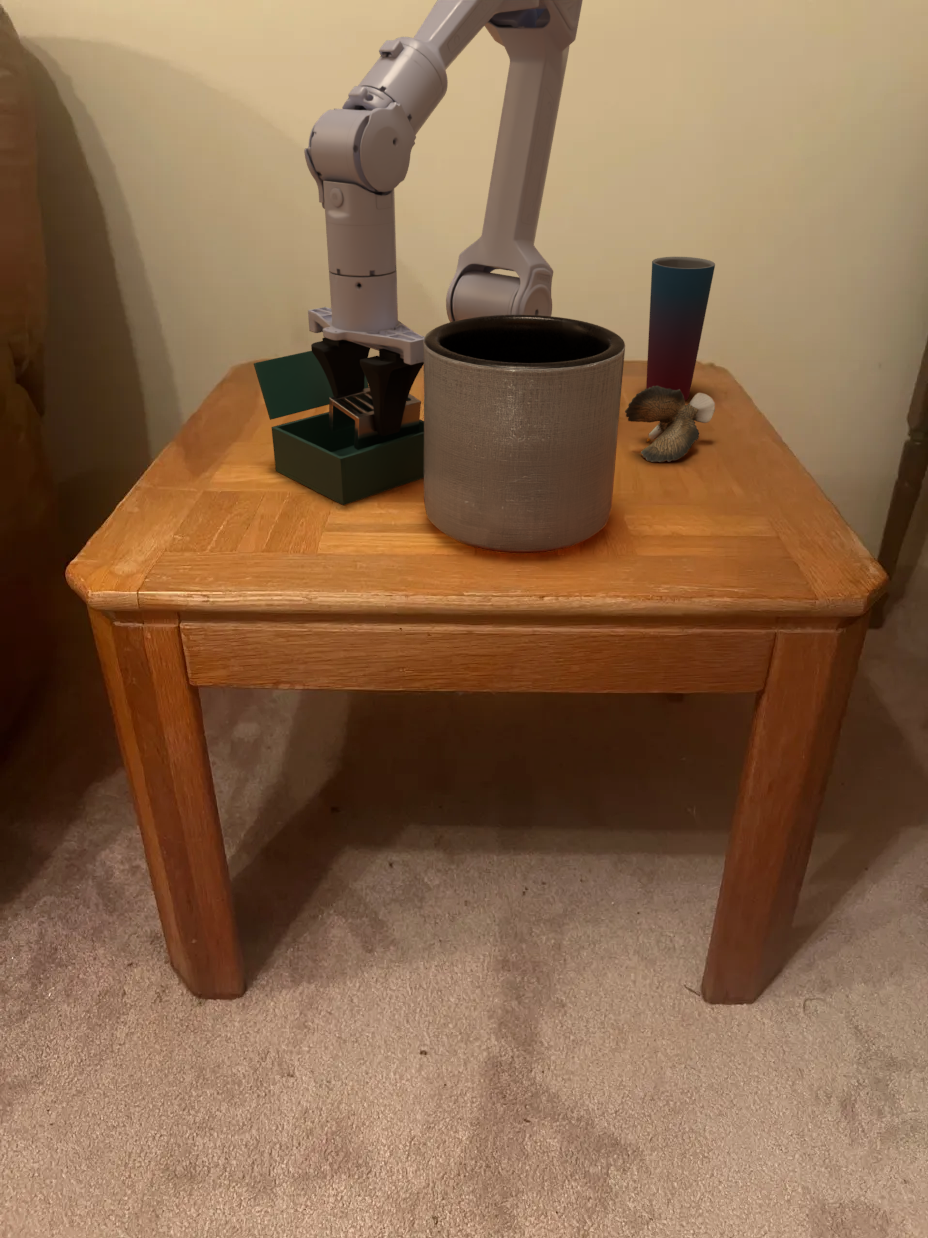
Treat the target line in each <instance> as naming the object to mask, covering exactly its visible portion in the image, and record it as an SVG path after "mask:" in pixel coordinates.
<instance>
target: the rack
mask: <svg viewBox="0 0 928 1238" xmlns="http://www.w3.org/2000/svg"><path fill="white" fill-rule="evenodd" d="M421 407H422V401H421V400H420V399H418V398H417V397H416V396H414V395H413V394H410V393H409V395H408V398H407V402H406V405H405V409H404V414H403V418H402V423H401V427H400V431H399V432H396V433H393V434H390V435H386V436H381V435H378V432H377V429H376V425H375V418H374V409H373V401H372V396H371V391H370V388H366V389H362V390H358V391H354V392H350V393H346V394H342V395H338V396H334V397H330V398H329V405H328V412H329V430H330V431H332V432H334V431H338V430H341V429H345V428H348V427H352V426H355V435H354V448H355V449H357V450H361V449H364V448H367V447H371V446H374V445H377V444H381V443H384V442H387V441H391V440H394V439H397V438H401V437H404V436H408V435H411V434H414V433H418V432H419V421H420V420H421V409H422V408H421Z"/></svg>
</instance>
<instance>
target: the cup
mask: <svg viewBox="0 0 928 1238" xmlns="http://www.w3.org/2000/svg"><path fill="white" fill-rule="evenodd" d="M715 268H716V263H715V262H714V261H712V260H710V259H707V258H701V257H691V256H663V257H657V258H654V259H652V261H651V274H650V275H651V278H650V280H651V281H650V298H649V299H650V301H649V320H648V321H649V322H648V340H647V342H648V343H647V362H646V363H647V365H646V382H645V383H646V384H645V389H649V387H651V388H652V386H660V387H662V388H663V387H664V388H665V389H669V388H670V389H672V390H679V389H680V390H681V392H682V394H683V396H684V399H685V401H687V400H688V399H689V398H690V394H691V390H692V389H691V388H692V383H693V380H694V379H693V378H694V373H695V368H696V364H697V358H698V353H699V349H700V343H701V338H702V333H703V328H704V323H705V318H706V313H707V308H708V304H709V298H710V293H711V288H712V283H713V278H714V273H715Z"/></svg>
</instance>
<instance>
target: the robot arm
mask: <svg viewBox="0 0 928 1238" xmlns="http://www.w3.org/2000/svg"><path fill="white" fill-rule="evenodd" d="M582 5H583V0H436V2H435V3H434V4H433V6H432V7H431V9H430V11H429V12H428V14H427V15H426V17H425V19H424V20H423V22H422V23H421V25H420V27H419V28H418V30H417V31H416V32H415V35H414V36H413V37H412V36H400V37H397V38H395V39H386V40H385V41H384V42H383V43H382V45H381V46H380V47H379V49H378V53H379V55H380V56H379V57H378V58H377V60H376V61H375V63H373V65H372V66H371V68H370V69H369V71H368V72H367V73H366V74H365V75H364V77H363V78H362V79H361V81H360V82H359V84H358V85H354V86H353V87H352V88H351V90H350V91H349V92H348V96H347V99H346V100H345V102H344V103H343V105H342V107H341V108H333V109H328V110H326V111H325V112H323V113H322V114H321V115H320V116H319V118H317V121H316V122H315V123H314V124H313V126H312V128H311V131H310V133H309V137H308V147H307V148H304V151H303V153H304V158H305V163H306V167H307V168H308V171H309V173H310V175H311V176H312V178H313V179H314V181H315V183H316V186H317V190H318V191H317V192H318V202H319V203H321V207H322V209H324V216H325V219H324V220H325V229H326V230H325V232H326V233H325V234H326V247H327V263H328V264H327V265H328V279H329V280H328V281H329V293H330V294H329V296H330V307H326V306H322V307H317V308H312V309H308V310H307V317H308V318H307V319H308V330H309V332H311V333H314V334H320V333H322V336H323V337H322V339H321V340H320V341H316V342H313V343H311V345H310V346H311V351H312V352H313V354H314V355H315V357H316V358H317V360H318V361H319V363H320V365H321V367H322V368H323V370H324V372H325V374H326V377H327V379H328V381H329V384H330V387H331V389H332V392H333V396H338V395H342V394H346V393H350V392H354V391H358V390H362V389H364V379H365V376H366V379H367V381H368V385H369V388H370V391H371V396H372V401H373V409H374V418H375V425H376V429H377V432H378V435H381V436H386V435H390V434H393V433H396V432H399V431H400V427H401V423H402V418H403V414H404V409H405V405H406V402H407V398H408V395H409V394H410V392H411V389H412V387H413V384H414V383H415V380H416V378H417V376H418V375H419V373H420V371H421V369H422V368H423V367H424V346H423V341H424V338H425V336H424V335H421V334H420V333H418V332H416V331H414V330H413V329H411V328H410V327H409V326H407V325H406V324H404V323H402V322H401V321H400V320H399V311H398V309H399V308H398V307H399V306H398V304H399V303H398V272H397V271H398V270H397V238H396V234H397V233H396V200H395V198H396V197H395V196H396V195H395V189H396V188H397V187H398V186H399V185H400V184H401V183H402V182H403V181H405V179H406V177H407V175H408V171H409V167H410V163H411V153H412V149H413V148H414V146H415V145H416V142H415V140H417V134H418V133H419V131H420V130H421V128H422V127H423V126H424V124H425V123H426V122H427V120H429V118H430V116H431V115H432V114H433V112H434V111H435V110H436V108H437V107H438V105H439V104H440V103H441V102H442V101H443V99H444V98H445V96H446V95H447V91H448V83H449V82H448V81H449V80H448V79H449V78H448V74H447V71H446V70H447V69H448V68H449V67H450V66H451V64H452V63H453V62H454V61H455V60H456V59H457V58H458V57H459V55H460V54H461V53H462V52H463V51H464V50H465V49H466V48H467V46H468V45H469V44H470V43H471V42H472V41H473V39H475V37H476V36H477V35H478V34H479V33H480V31H481V30H482V29H483V28H484V27H485V29H486V30H487V32H488V33H489V34H490V37H492V39H493V40H494V41H495V42H496V43H497V44H499V45H501V46H502V47H504V50H505V51H506V53H507V56H508V58H509V65H508V72H507V76H506V77H507V78H506V83H505V84H506V85H505V92H504V97H503V103H502V109H501V115H500V120H499V128H498V134H497V138H496V144H495V145H496V146H495V151H494V156H493V157H494V158H493V164H492V169H491V176H490V180H489V181H490V182H489V189H488V194H487V199H486V207H485V211H484V217H483V218H484V219H483V226H482V230H481V235H480V236H479V237H478V238H477V240H475V241H474V242H473V243H471V244H470V245H469V246H468V247H466V248H465V249H464V250H462V251H461V252H460V253H459V255H458V259H457V260H458V261H457V265H456V268H455V269H456V270H455V273H454V275H453V278H452V279H451V281H450V283H449V286H448V288H447V292H446V296H445V297H446V298H445V309H446V310H445V311H446V315H447V319H448V322H453V321H457V320H462V319H467V318H474V317H482V316H493V315H540V316H552V314H553V299H552V284H553V277H554V269H553V268H552V266H551V265H550V264H549V263H548V261H547V260H546V259H545V258H544V256H543V255H542V254H541V253H540V251H539V250H538V249H537V248H536V246H535V240H536V235H537V229H538V224H539V218H540V214H541V207H542V203H543V196H544V193H545V192H544V190H545V185H546V181H547V180H546V179H547V175H548V169H549V164H550V158H551V153H552V147H553V142H554V137H555V129H556V125H557V119H558V114H559V109H560V102H561V97H562V92H563V86H564V80H565V75H566V71H567V63H568V59H569V53H570V46H571V45H572V44H573V43H574V42H575V41H576V40H577V39H576V38H577V35H578V34H577V33H578V29H579V21H580V17H581V12H582ZM495 270H504V271H509V272H515V273H516V274H517V275H518V276H515V275H508V274H501V273H495V272H493V271H495ZM371 349H372V350H375V351H378V355H374V356H369V354H370V350H371Z"/></svg>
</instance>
